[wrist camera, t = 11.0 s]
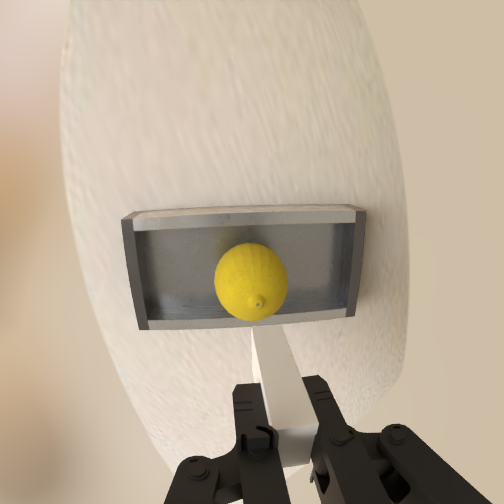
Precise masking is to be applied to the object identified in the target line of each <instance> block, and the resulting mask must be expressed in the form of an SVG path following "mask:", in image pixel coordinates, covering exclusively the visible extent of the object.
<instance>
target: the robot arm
mask: <svg viewBox="0 0 504 504" xmlns="http://www.w3.org/2000/svg"><path fill="white" fill-rule="evenodd" d="M251 338H252V371H253V376H254V382H255V383H251V384H237V385H236V387H235V389H234V391H233V393H232V395H233V407H234V418H235V429H236V444H235V446H234V448H233V449H232V450H231V451H230V452H229V453H227V454H225V455H223V456H220V457H217V458H214V459H210V458H207V457H204V456H192V457H188V458H186V459H185V460H183V461H182V462H181V463H180V465H179V466H178V468H177V471H176V473H175V476H174V478H173V481H172V484H171V486H170V489H169V491H168V494H167V496H166V499H165V502H164V504H228V503H231V502H234V501H237V500H240V499H243V503H244V504H291V502H290V498H289V494H288V490H287V486H286V481H285V477H284V473H283V468H284V467H291V466H297V465H303V464H309V462H310V458H311V459H312V462H313V465H314V467H313V470H312V473H311V477H310V483H312V482H313V480H314V481H315V484H316V487H317V490H318V494H319V497H320V500H321V504H492V503H491V502H490V501H488V500H487V499H486V498H485V497H484V496H483V495H482V494H480V493H479V492H478V491H477V490H476V489H475V488H474V487H473V486H472V485H471V484H469V483H468V482H467V481H466V480H465V479H464V478H463V477H462V476H461V475H459V474H458V473H457V472H456V471H455V470H454V469H453V468H452V467H451V466H450V465H449V464H447V463H446V462H445V461H444V460H443V459H442V458H441V457H440V456H439V455H438V454H436V453H435V452H434V451H433V450H432V449H431V448H430V447H429V446H428V445H427V444H426V443H425V442H424V441H422V440H421V439H420V438H419V437H418V436H417V435H416V434H415V433H414V432H413V431H412V430H411V429H410V428H408V427H406V426H405V425H401V424H391V425H388V426H386V427H385V428H384V429H383V430H382V432H381V433H362V432H358V431H356V430H355V429H354V428H352V427H351V426H349V425H347V423H346V422H345V420H344V418H343V416H342V413H341V411H340V409H339V407H338V405H337V403H336V401H335V399H334V397H333V394H332V392H331V391H330V388H329V386H328V384H327V382H326V381H325V380H324V379H323V378H321V377H320V376H319V375H315V376H308V377H301V375H300V372H299V370H298V367H297V365H296V362H295V359H294V357H293V354H292V352H291V349H290V346H289V344H288V341H287V338H286V336H285V333H284V331H283V328H282V325H271V326H258V327H251Z"/></svg>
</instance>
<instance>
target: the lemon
mask: <svg viewBox="0 0 504 504" xmlns="http://www.w3.org/2000/svg"><path fill="white" fill-rule="evenodd" d="M214 284H215V289H216V294H217V296H218V298H219V300H220V302H221V304H222V305H223V307H224V308H225V309H226V310H227V311H228V312H229V313H230V314H232V315H233V316H235V317H236V318H239V319H241V320H245V321H260V320H263V319H266V318H268V317H270V316H271V315H273V314H274V313H275V312H277V311H278V310H279V309H280V307H281V306H282V304H283V303H284V301H285V298H286V295H287V290H288V278H287V273H286V269H285V267H284V265H283V263H282V261H281V259H280V258H279V257H278V256H277V255H276V254H275V253H274V252H273V251H272V250H270V249H269V248H267V247H265V246H263V245H260V244H257V243H245V244H240V245H237V246H235V247H233V248H231V249H230V250H229V251H227V252H226V253H225V254H224V255H223V257H222V258H221V259H220V261H219V263H218V265H217V268H216V271H215V279H214Z"/></svg>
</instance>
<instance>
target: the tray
mask: <svg viewBox="0 0 504 504" xmlns="http://www.w3.org/2000/svg"><path fill="white" fill-rule="evenodd" d="M365 222H366V211H365V210H362V209H360V208H357V207H354V206H352V205H257V206H227V207H205V208H186V209H169V210H154V211H141V212H133V213H131V214H129V215H128V216H126V217H124V218H123V219H121V224H122V233H123V241H124V249H125V256H126V262H127V269H128V275H129V281H130V287H131V292H132V298H133V303H134V308H135V313H136V317H137V322H138V327H139V330H184V329H214V328H234V327H251V326H265V325H277V324H289V323H299V322H309V321H319V320H327V319H336V318H344V317H351V316H355V311H356V304H357V297H358V290H359V283H360V274H361V266H362V257H363V246H364V235H365ZM245 243H257V244H260V245H263V246H265V247H267V248H269V249H270V250H272V251H273V252H274V253H275V254H276V255H277V256H278V257H279V258H280V259H281V261H282V263H283V265H284V267H285V269H286V273H287V278H288V290H287V295H286V298H285V301H284V303H283V304H282V306H281V307H280V309H279V310H278V311H277V312H275V313H274V314H273V315H271V316H270V317H268V318H266V319H263V320H260V321H245V320H241V319H239V318H236V317H235V316H233V315H232V314H230V313H229V312H228V311H227V310H226V309H225V308H224V307H223V305H222V304H221V302H220V300H219V298H218V296H217V294H216V289H215V284H214V279H215V271H216V268H217V265H218V263H219V261H220V259H221V258H222V257H223V255H224V254H225V253H226V252H227V251H229V250H230V249H231V248H233V247H235V246H237V245H240V244H245Z"/></svg>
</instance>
